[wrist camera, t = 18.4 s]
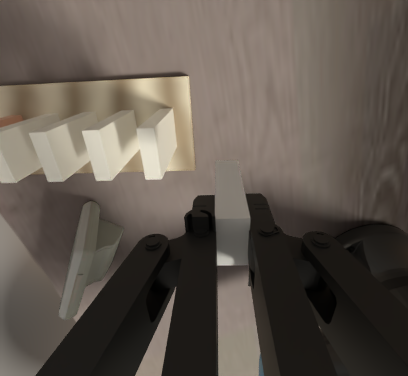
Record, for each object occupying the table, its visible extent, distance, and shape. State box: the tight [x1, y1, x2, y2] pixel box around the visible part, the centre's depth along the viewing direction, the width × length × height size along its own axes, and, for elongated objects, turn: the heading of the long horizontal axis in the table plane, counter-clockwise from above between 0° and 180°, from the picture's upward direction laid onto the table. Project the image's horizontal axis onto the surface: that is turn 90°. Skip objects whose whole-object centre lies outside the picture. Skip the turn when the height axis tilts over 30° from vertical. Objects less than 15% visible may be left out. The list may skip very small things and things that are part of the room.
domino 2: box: [29, 112, 98, 182], centre depth 27 cm, size 2×5×10 cm, turn 3°
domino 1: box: [0, 113, 60, 183], centre depth 27 cm, size 2×5×10 cm, turn 3°
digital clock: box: [59, 201, 124, 320], centre depth 37 cm, size 16×9×11 cm, turn 144°
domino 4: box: [136, 108, 177, 180], centre depth 26 cm, size 2×5×10 cm, turn 3°
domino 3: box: [82, 110, 140, 181], centre depth 27 cm, size 2×5×10 cm, turn 3°
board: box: [0, 76, 196, 175], centre depth 32 cm, size 30×12×1 cm, turn 93°
